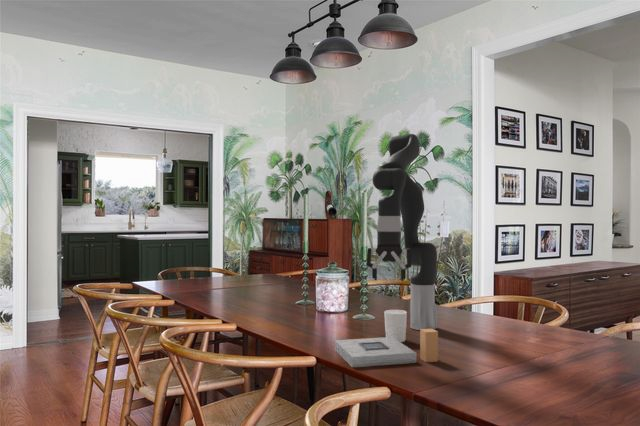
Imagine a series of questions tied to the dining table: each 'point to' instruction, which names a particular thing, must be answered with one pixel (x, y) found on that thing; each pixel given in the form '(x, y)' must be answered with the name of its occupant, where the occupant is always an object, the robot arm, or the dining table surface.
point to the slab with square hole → (374, 352)
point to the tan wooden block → (429, 345)
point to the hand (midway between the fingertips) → (388, 280)
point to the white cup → (395, 324)
